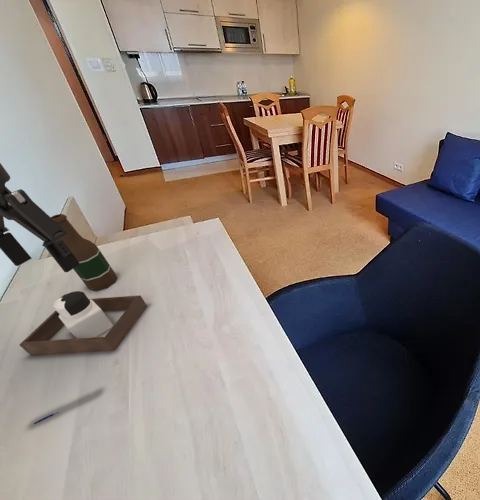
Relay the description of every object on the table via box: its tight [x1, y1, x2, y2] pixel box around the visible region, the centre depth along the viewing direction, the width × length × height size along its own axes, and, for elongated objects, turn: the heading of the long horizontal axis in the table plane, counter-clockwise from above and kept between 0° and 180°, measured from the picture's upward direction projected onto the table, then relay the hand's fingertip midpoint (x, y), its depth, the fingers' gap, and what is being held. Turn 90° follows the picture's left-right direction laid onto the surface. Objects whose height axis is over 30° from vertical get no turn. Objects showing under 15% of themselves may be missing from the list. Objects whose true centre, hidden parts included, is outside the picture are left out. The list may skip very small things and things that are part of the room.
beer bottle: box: [50, 213, 118, 292], centre depth 88 cm, size 8×8×24 cm
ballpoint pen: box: [33, 411, 59, 425], centre depth 61 cm, size 10×1×1 cm, turn 125°
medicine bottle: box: [53, 290, 115, 339], centre depth 75 cm, size 7×7×12 cm
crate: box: [19, 294, 148, 357], centre depth 77 cm, size 21×15×5 cm
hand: (47, 265), depth 62 cm, fingers open, 13 cm apart
